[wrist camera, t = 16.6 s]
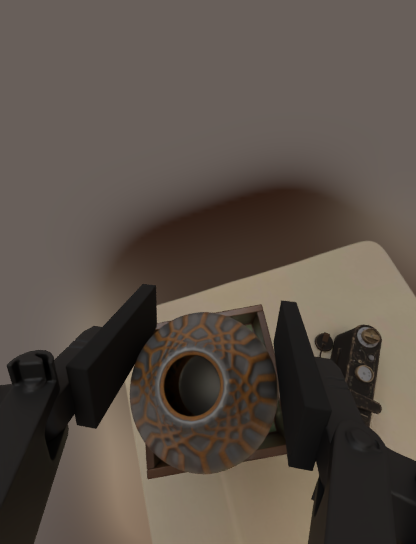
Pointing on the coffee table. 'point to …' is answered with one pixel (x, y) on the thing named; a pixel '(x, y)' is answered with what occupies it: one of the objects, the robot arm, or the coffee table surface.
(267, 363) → the vase
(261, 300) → the coffee table surface
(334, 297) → the coffee table surface
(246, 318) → the square pedestal box
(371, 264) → the coffee table surface
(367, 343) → the camera
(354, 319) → the coffee table surface
